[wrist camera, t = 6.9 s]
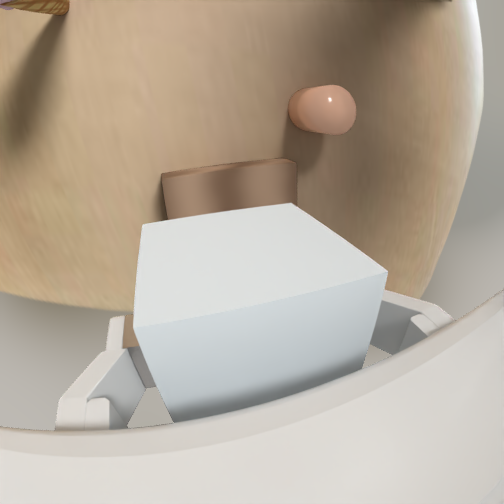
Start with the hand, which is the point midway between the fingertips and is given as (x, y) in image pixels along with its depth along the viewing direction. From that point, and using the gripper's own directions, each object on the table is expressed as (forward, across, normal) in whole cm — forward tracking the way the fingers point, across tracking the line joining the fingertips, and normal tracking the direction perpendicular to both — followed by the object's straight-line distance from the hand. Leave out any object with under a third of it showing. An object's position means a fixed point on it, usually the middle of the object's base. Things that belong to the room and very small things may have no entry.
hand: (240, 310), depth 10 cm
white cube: (+2, 0, 0) cm, 2 cm away
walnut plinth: (+19, -4, +4) cm, 20 cm away
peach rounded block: (+19, -13, -7) cm, 24 cm away
